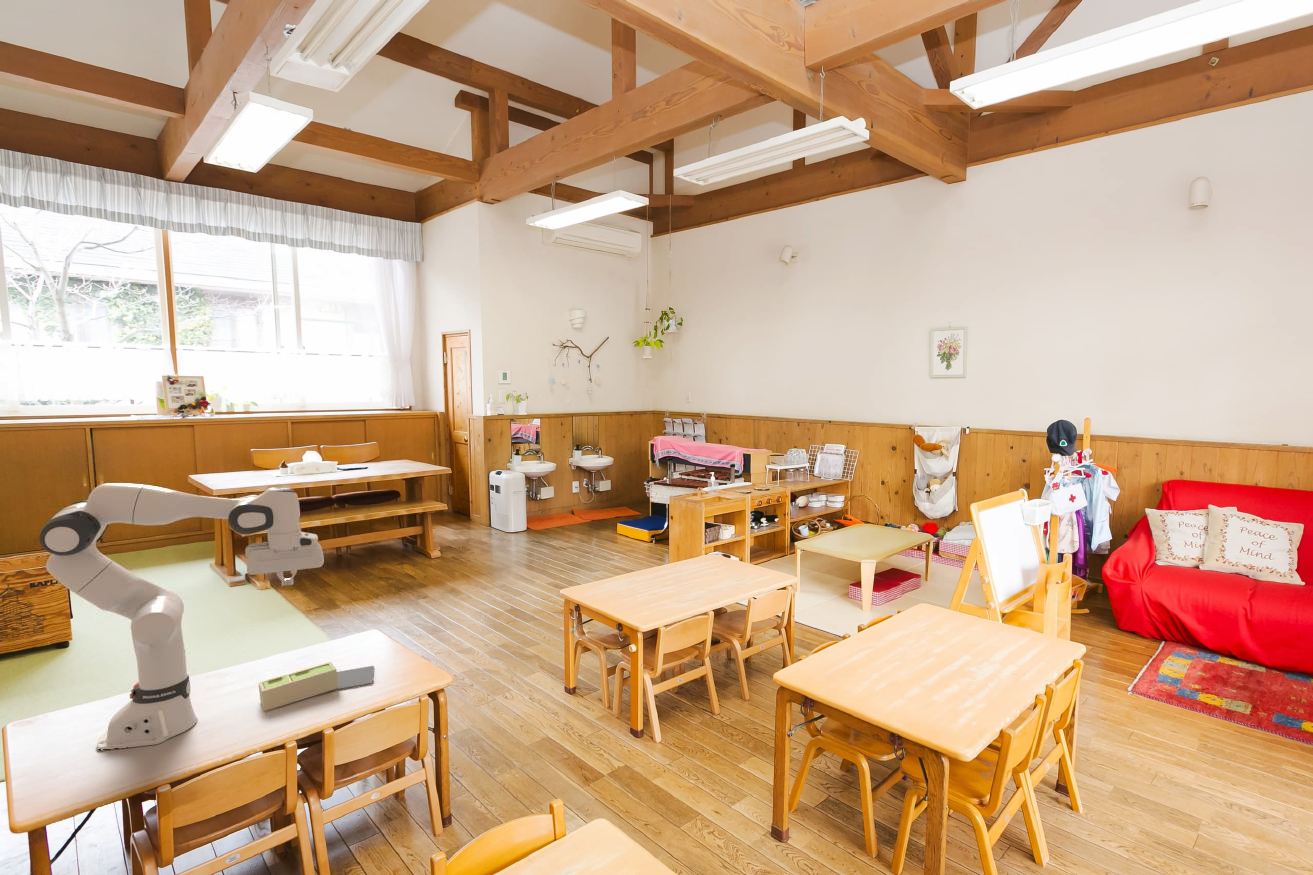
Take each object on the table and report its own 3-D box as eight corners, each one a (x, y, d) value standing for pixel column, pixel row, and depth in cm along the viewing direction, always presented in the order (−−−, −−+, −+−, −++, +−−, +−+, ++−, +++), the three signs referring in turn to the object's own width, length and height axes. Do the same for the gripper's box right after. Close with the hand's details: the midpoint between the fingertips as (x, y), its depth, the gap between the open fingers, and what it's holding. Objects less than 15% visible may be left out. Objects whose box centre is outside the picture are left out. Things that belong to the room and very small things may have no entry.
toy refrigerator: (336, 667, 206) (261, 689, 193) (338, 688, 207) (264, 712, 194) (330, 659, 213) (257, 680, 200) (333, 679, 213) (260, 702, 200)
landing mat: (315, 694, 205) (315, 692, 205) (319, 676, 218) (319, 674, 218) (372, 684, 212) (372, 682, 211) (373, 667, 224) (373, 665, 224)
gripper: (242, 546, 185) (245, 592, 186) (321, 539, 193) (323, 583, 194) (246, 541, 191) (249, 586, 192) (323, 534, 199) (325, 577, 200)
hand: (287, 584), depth 193 cm, fingers closed
